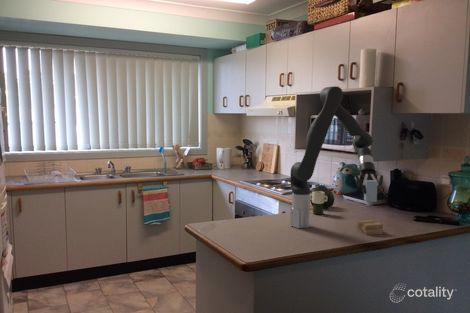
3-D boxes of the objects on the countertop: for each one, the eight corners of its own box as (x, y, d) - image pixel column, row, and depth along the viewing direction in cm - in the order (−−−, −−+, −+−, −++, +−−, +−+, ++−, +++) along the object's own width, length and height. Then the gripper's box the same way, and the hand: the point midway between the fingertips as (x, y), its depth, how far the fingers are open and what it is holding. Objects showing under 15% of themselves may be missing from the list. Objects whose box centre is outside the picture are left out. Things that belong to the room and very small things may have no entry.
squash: (324, 203, 246) (332, 182, 253) (303, 200, 256) (311, 181, 263) (333, 215, 255) (340, 195, 262) (312, 212, 265) (319, 193, 271)
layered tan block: (382, 234, 200) (382, 224, 199) (365, 235, 198) (366, 225, 197) (372, 229, 209) (372, 219, 208) (356, 230, 207) (356, 220, 206)
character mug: (328, 213, 242) (329, 192, 241) (325, 216, 236) (325, 193, 235) (311, 211, 247) (311, 190, 246) (307, 214, 241) (307, 192, 240)
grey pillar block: (376, 201, 199) (377, 181, 198) (366, 201, 200) (366, 181, 199) (374, 199, 204) (374, 180, 203) (363, 199, 205) (364, 179, 204)
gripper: (353, 161, 208) (357, 188, 197) (382, 161, 207) (388, 189, 196) (351, 170, 214) (355, 197, 203) (379, 170, 213) (384, 197, 202)
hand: (371, 193), depth 200 cm, fingers closed on grey pillar block, 5 cm apart
